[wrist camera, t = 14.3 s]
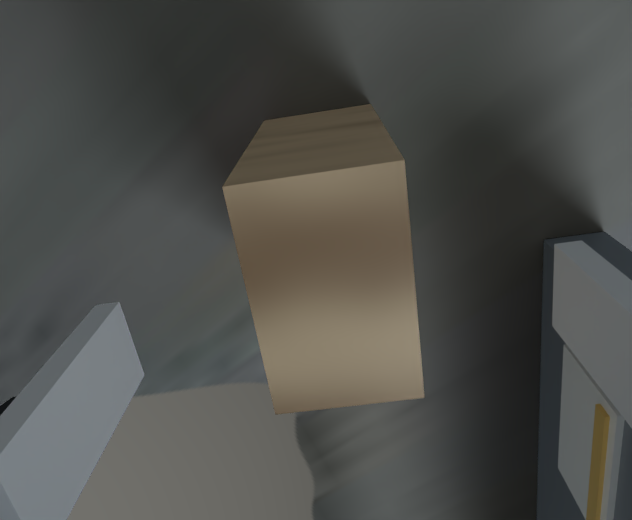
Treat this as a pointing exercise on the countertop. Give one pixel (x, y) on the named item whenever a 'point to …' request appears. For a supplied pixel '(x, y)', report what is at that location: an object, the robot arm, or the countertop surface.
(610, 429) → the panel
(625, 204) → the countertop surface
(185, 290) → the countertop surface
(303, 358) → the oak block
